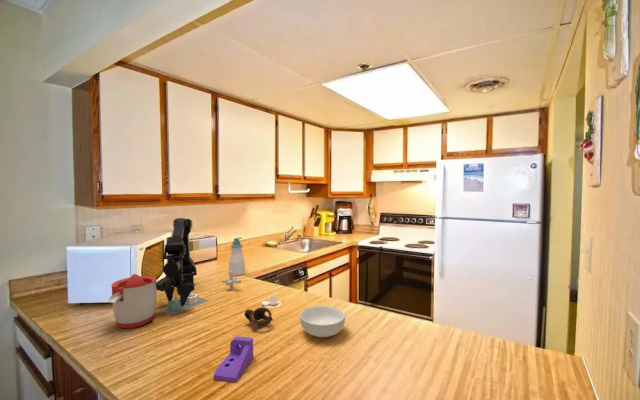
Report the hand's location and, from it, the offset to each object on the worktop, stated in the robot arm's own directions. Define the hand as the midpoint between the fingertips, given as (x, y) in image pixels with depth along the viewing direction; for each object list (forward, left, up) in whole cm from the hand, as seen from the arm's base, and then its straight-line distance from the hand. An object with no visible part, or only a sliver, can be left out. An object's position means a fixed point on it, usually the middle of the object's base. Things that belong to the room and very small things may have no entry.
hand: (176, 304), depth 131 cm
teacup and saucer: (+30, +28, -4) cm, 41 cm away
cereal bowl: (+67, +16, -3) cm, 68 cm away
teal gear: (0, 0, -2) cm, 2 cm away
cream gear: (0, +8, -2) cm, 8 cm away
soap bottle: (-18, +54, -3) cm, 57 cm away
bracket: (+54, -17, -3) cm, 57 cm away
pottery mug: (+42, +8, -3) cm, 42 cm away
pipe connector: (+2, +31, -3) cm, 31 cm away
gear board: (0, +4, -3) cm, 5 cm away
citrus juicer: (-3, -16, -3) cm, 17 cm away
